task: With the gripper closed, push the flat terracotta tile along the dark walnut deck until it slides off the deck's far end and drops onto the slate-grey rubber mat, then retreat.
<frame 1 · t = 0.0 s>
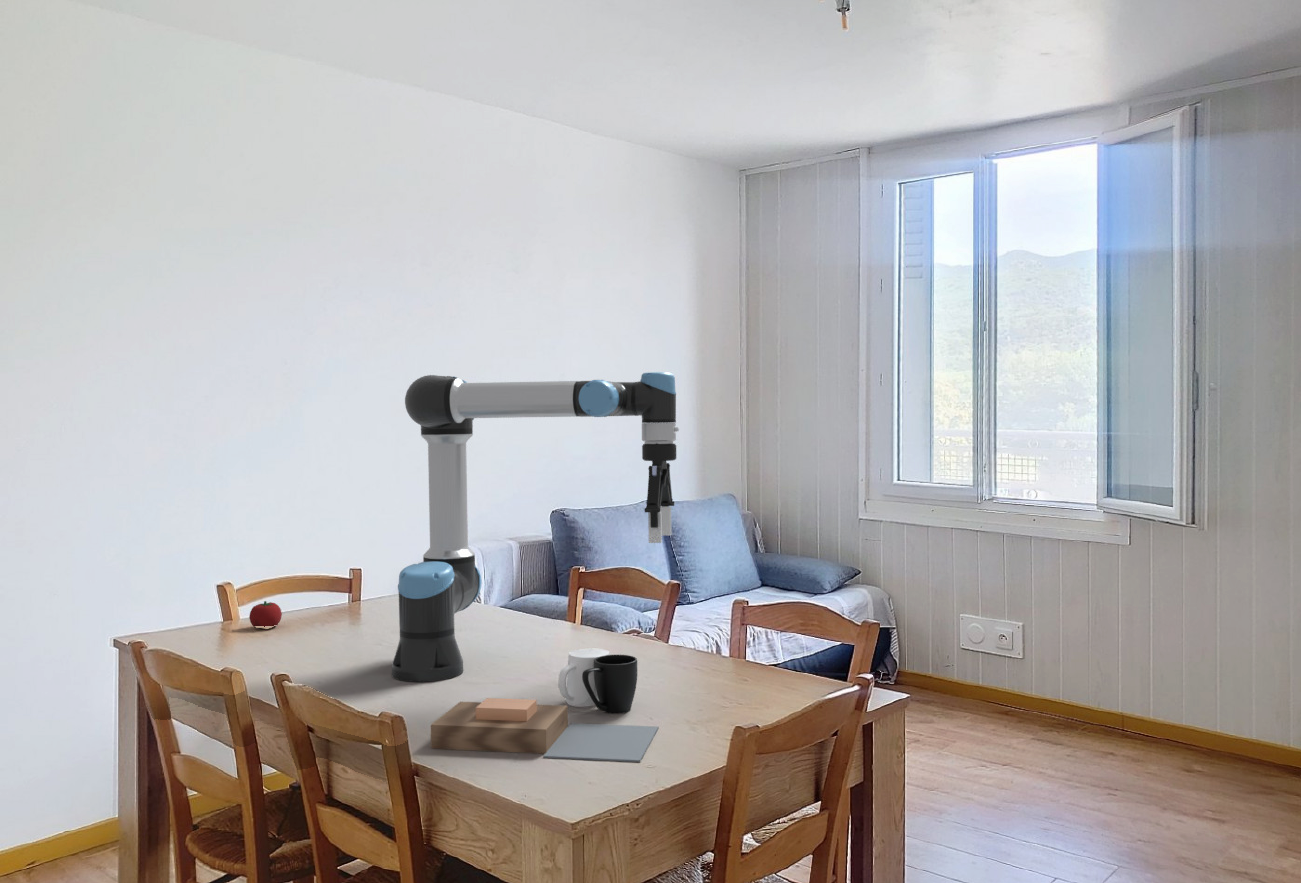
hand: (660, 539, 228), 28 cm above the table, fingers open, 13 cm apart
mug: (608, 712, 194), on the table
tile: (506, 715, 179), point 4 cm above the table, touching deck
mug 2: (584, 702, 201), on the table
deck: (501, 737, 179), on the table
tomato: (266, 628, 275), on the table
mat: (603, 742, 176), on the table
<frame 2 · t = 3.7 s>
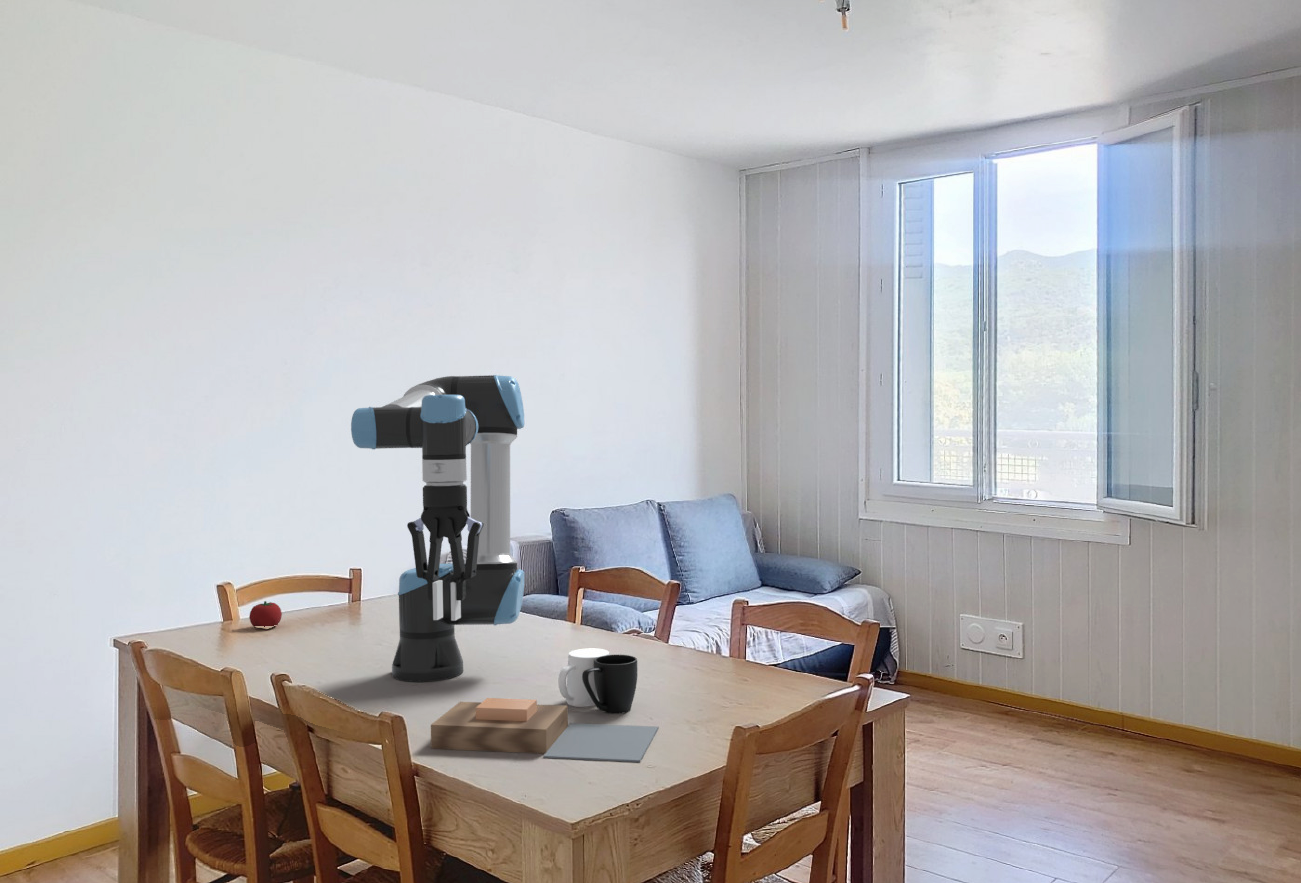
hand: (447, 618, 180), 21 cm above the table, fingers open, 3 cm apart
nothing on the table moved.
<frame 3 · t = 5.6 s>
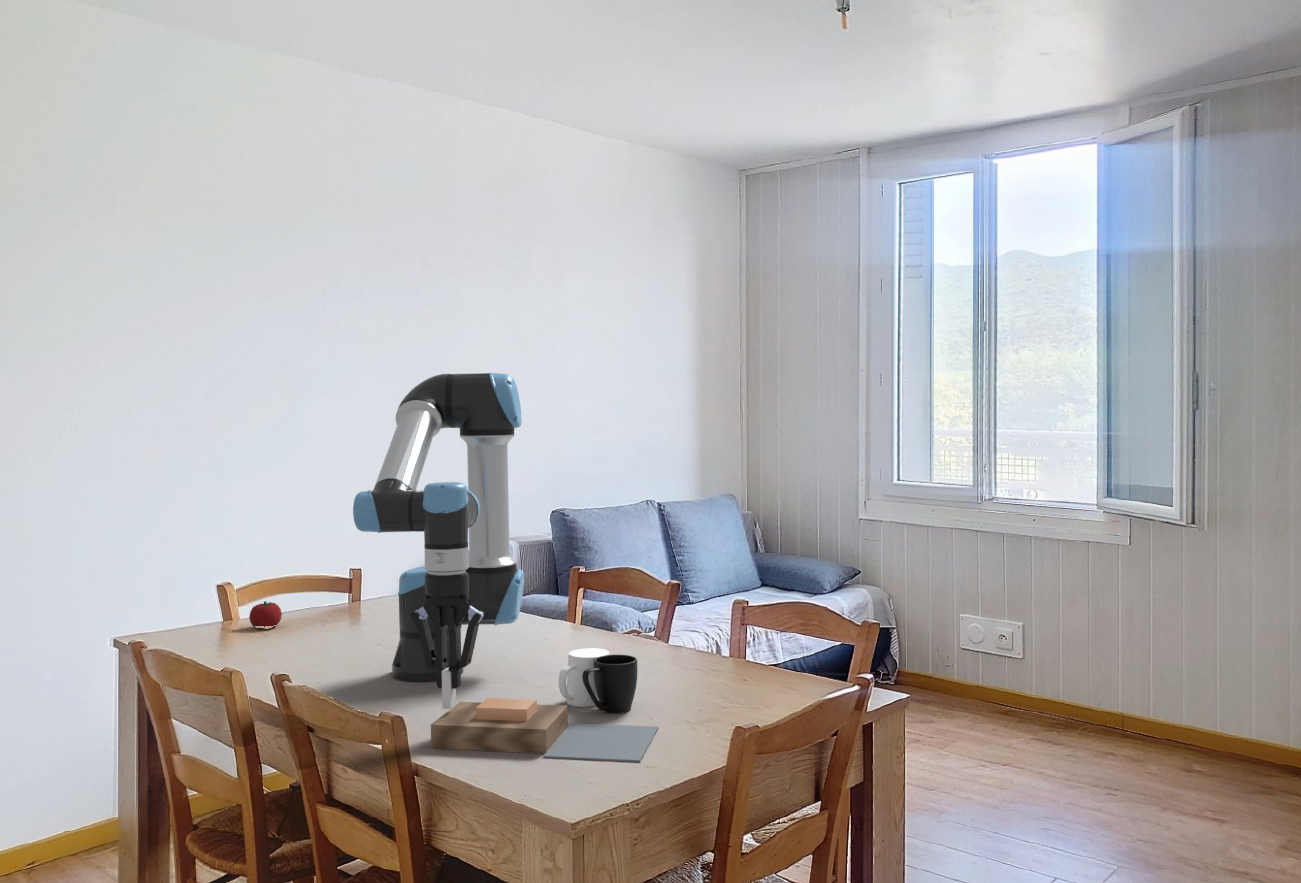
hand: (449, 706, 180), 5 cm above the table, fingers closed
nothing on the table moved.
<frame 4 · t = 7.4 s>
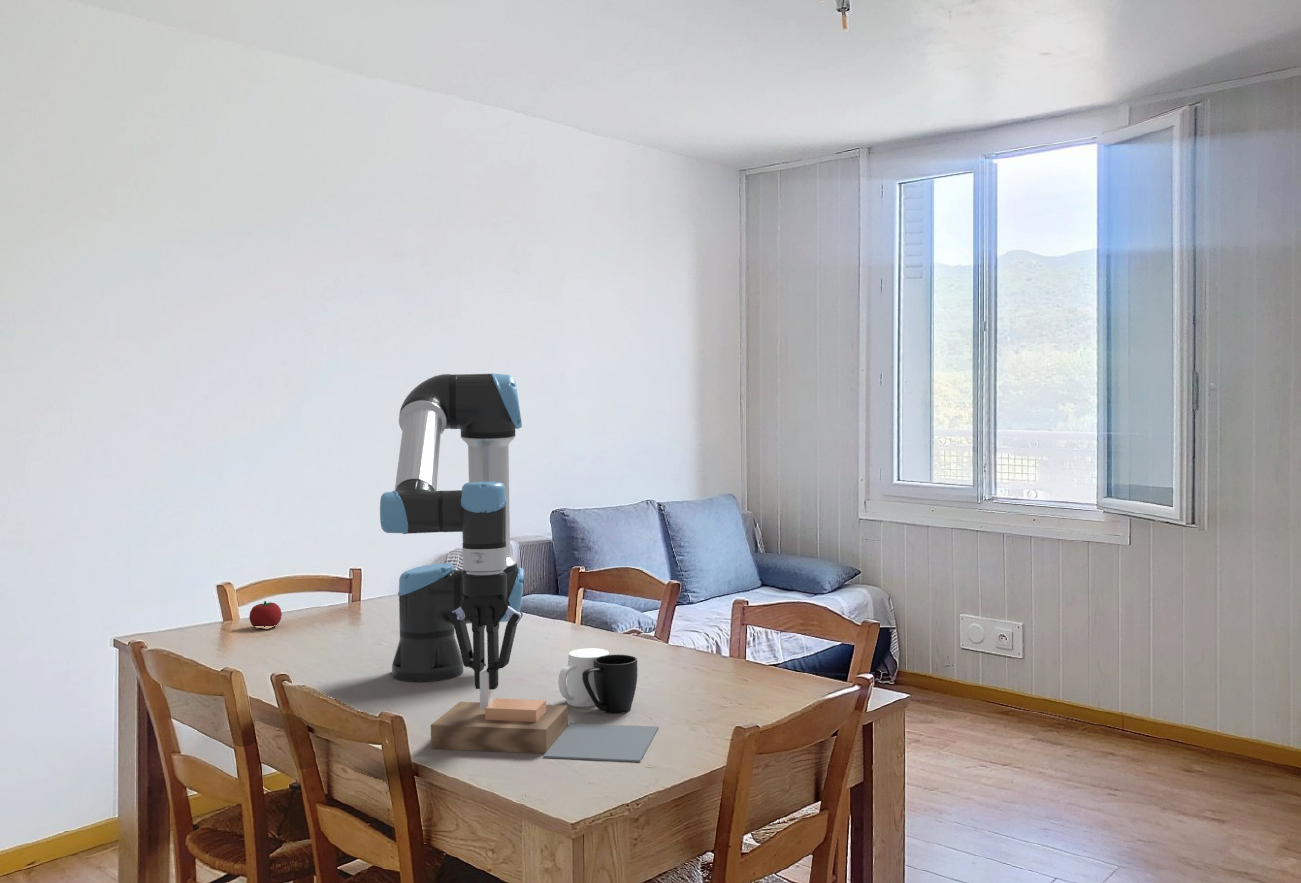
hand: (486, 707, 179), 5 cm above the table, fingers closed
tile: (516, 715, 178), point 4 cm above the table, touching deck, gripper
everything else where it was.
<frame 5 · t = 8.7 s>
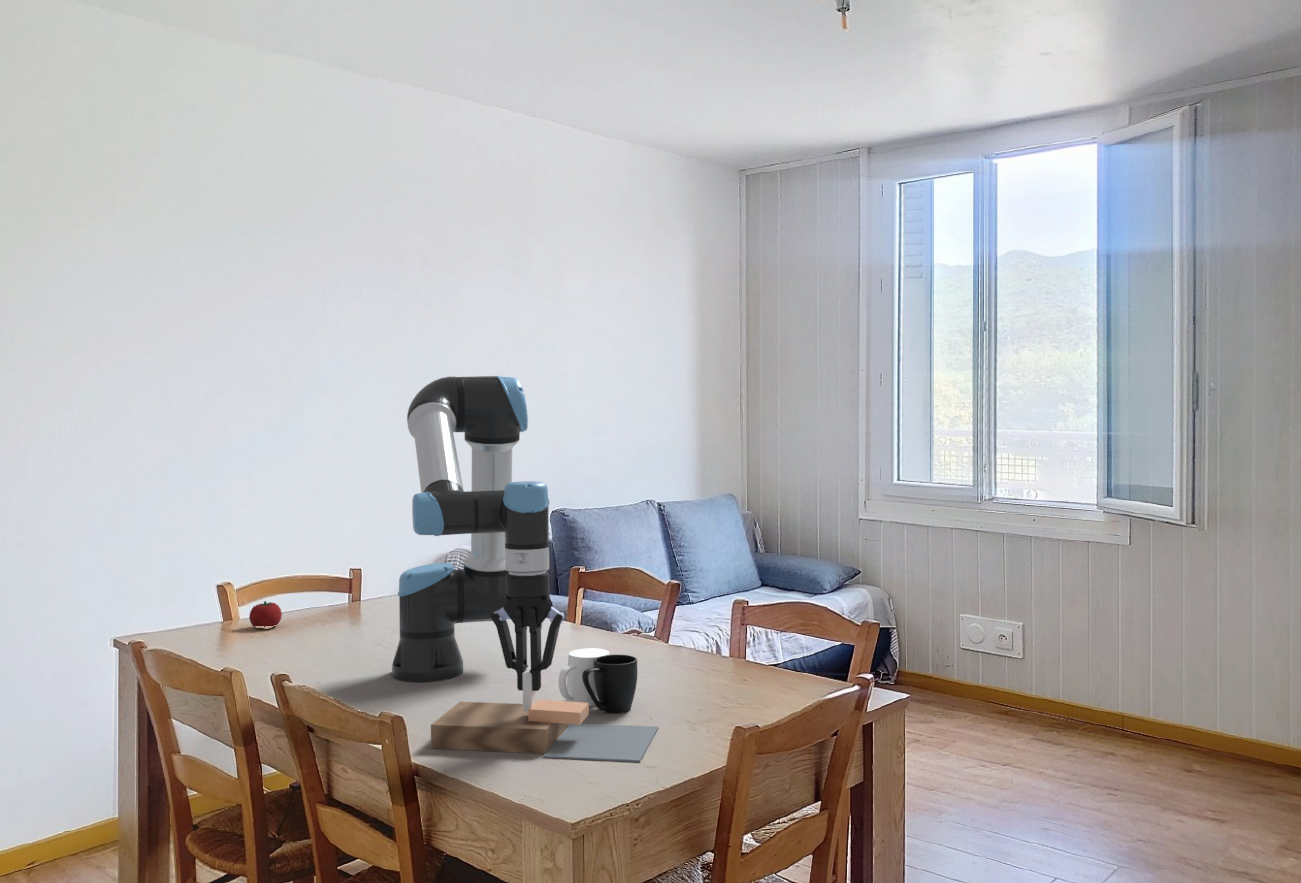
hand: (529, 709, 178), 5 cm above the table, fingers closed
tile: (558, 717, 177), point 4 cm above the table, touching gripper
everything else where it was.
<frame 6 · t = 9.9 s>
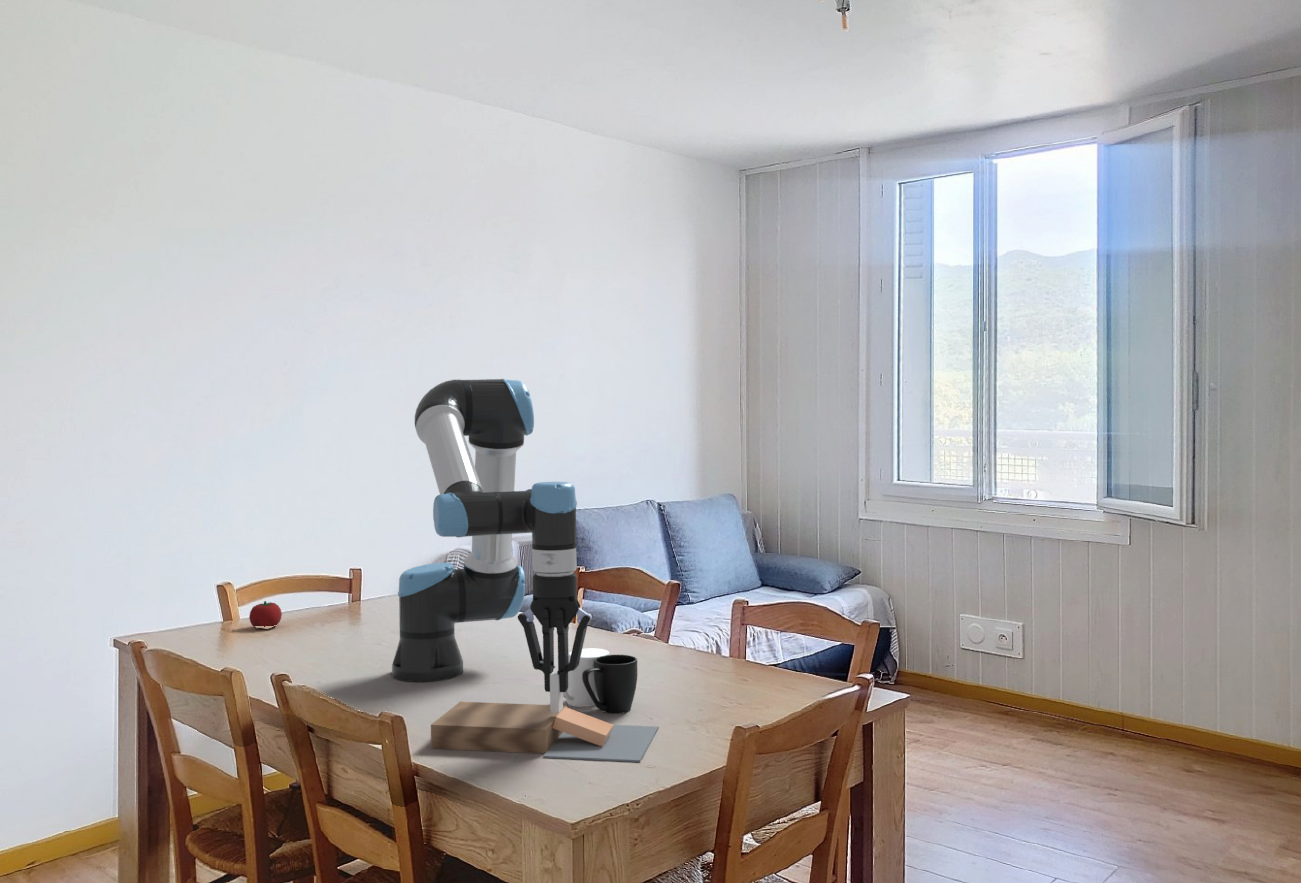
hand: (556, 710, 177), 5 cm above the table, fingers closed
tile: (581, 731, 176), point 2 cm above the table, tilted 18°, touching gripper
everything else where it was.
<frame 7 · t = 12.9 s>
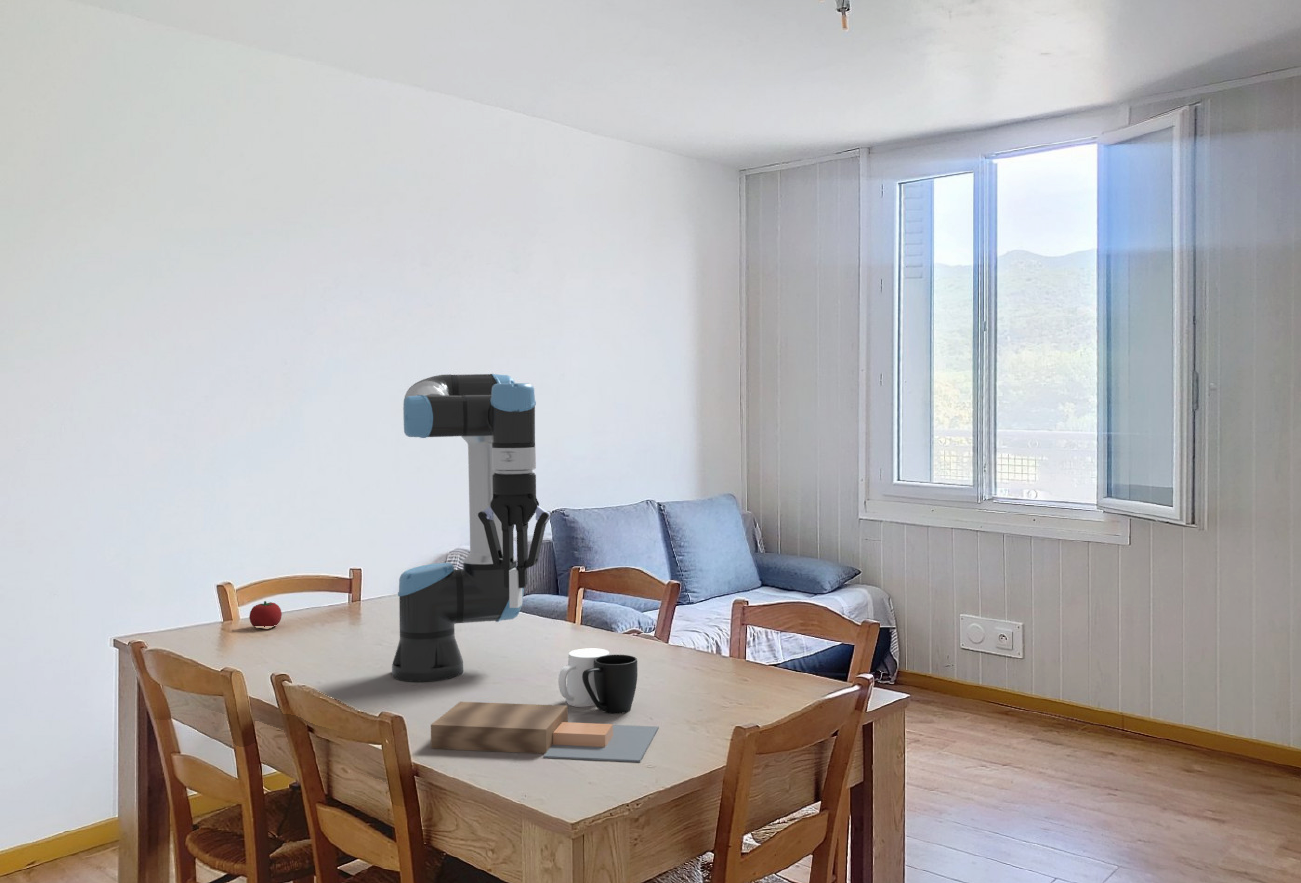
hand: (516, 606, 181), 22 cm above the table, fingers closed
tile: (583, 740, 176), resting on mat
everything else where it was.
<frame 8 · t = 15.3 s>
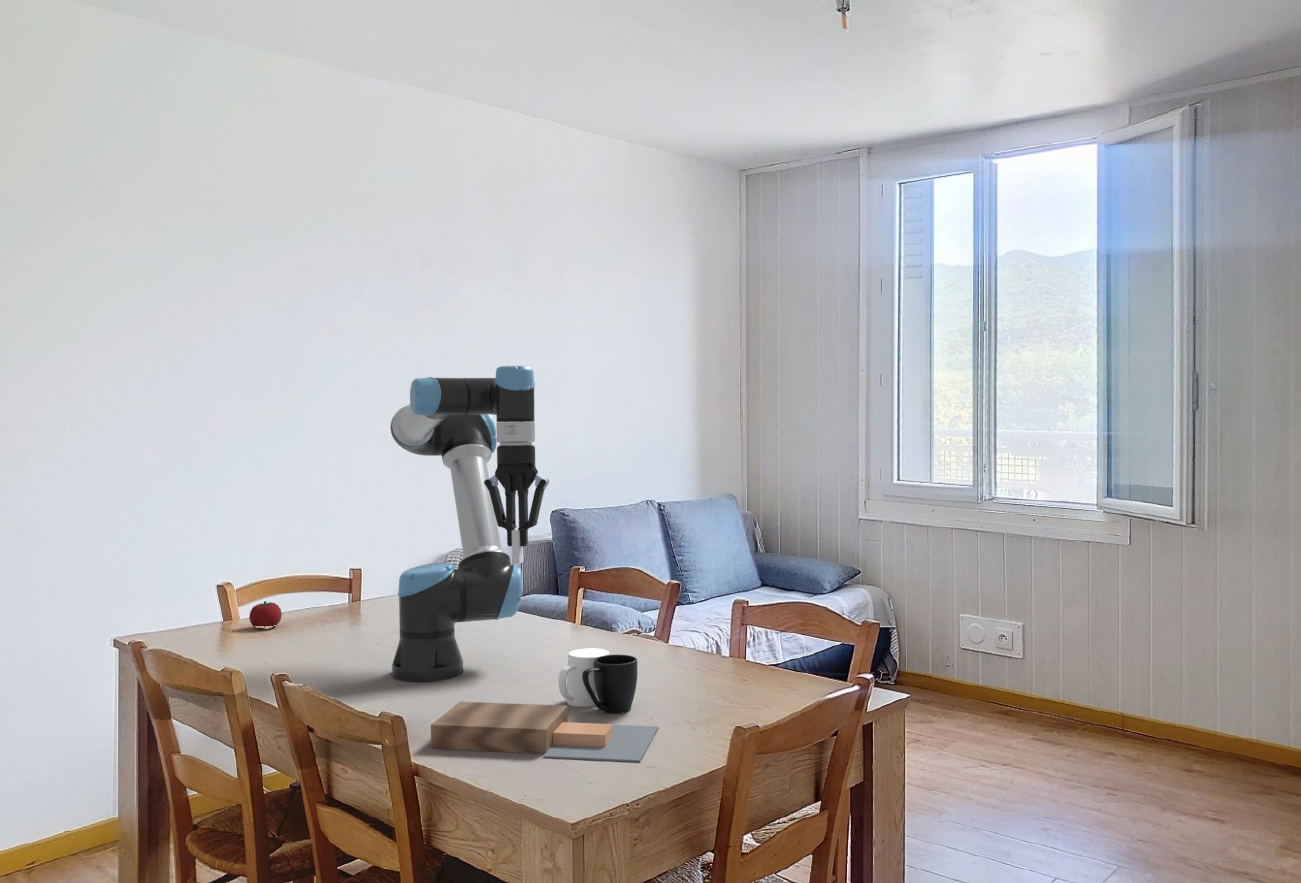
hand: (517, 562, 206), 26 cm above the table, fingers closed
nothing on the table moved.
at the end: tile inside the target area on the mat (3.4 cm from its centre), point 0.3 cm above the mat's base; tile resting on mat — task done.
